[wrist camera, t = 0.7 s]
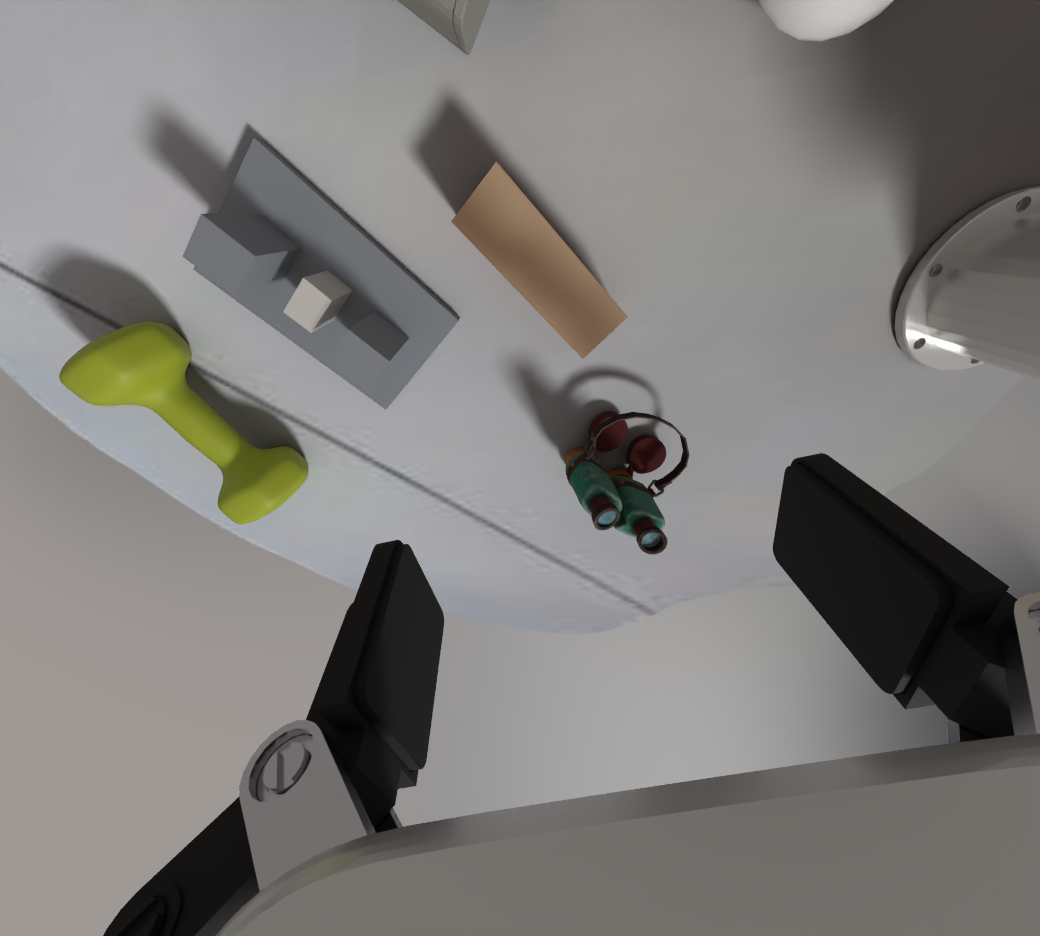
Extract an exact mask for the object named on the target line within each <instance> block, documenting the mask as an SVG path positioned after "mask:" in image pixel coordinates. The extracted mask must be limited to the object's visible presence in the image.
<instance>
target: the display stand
mask: <svg viewBox="0 0 1040 936" xmlns="http://www.w3.org/2000/svg"><path fill="white" fill-rule="evenodd" d="M183 257H184V258H185V259H187V260H188V261H189V262H191V263H192V264H194V265H195V267H194V270H195V271H196V272H198V273H199V274H201V275H202V276H203V277H205V278H206V279H207V280H209V281H210V282H212V283H213V284H214V285H216V286H217V287H218V288H220V289H221V290H223V291H224V292H225V293H227V294H228V295H229V296H231V297H232V298H234V299H235V300H236V301H238V302H239V303H240V304H242V305H243V306H244V307H246V308H247V309H249V310H250V311H251V312H253V313H254V314H255V315H257V316H258V317H260V318H261V319H262V320H264V321H265V322H266V323H268V324H269V325H271V326H272V327H273V328H275V329H276V330H277V331H279V332H280V333H282V334H283V335H284V336H286V337H287V338H288V339H290V340H291V341H293V342H294V343H295V344H297V345H298V346H299V347H301V348H302V349H303V350H305V351H306V352H308V353H309V354H310V355H312V356H313V357H314V358H316V359H317V360H319V361H320V362H321V363H323V364H324V365H325V366H327V367H328V368H330V369H331V370H332V371H334V372H335V373H336V374H338V375H339V376H341V377H342V378H343V379H345V380H346V381H347V382H349V383H350V384H352V385H353V386H354V387H356V388H357V389H358V390H360V391H361V392H363V393H364V394H365V395H367V396H368V397H369V398H371V399H372V400H373V401H375V402H376V403H378V404H379V405H380V406H382V407H383V408H384V409H387V408H388V407H389V405H390V404H391V403H392V402H393V401H394V399H395V398H396V397H397V396H398V394H399V393H400V392H401V391H402V389H403V388H404V387H405V386H406V385H407V383H408V382H409V381H410V380H411V378H412V377H413V376H414V375H415V373H416V372H417V371H418V370H419V369H420V367H421V366H422V365H423V364H424V362H425V361H426V360H427V359H428V357H429V356H430V355H431V354H432V353H433V351H434V350H435V349H436V348H437V346H438V345H439V344H440V343H441V341H442V340H443V339H444V338H445V337H446V335H447V334H448V333H449V332H450V330H451V329H452V328H453V327H454V325H455V324H456V323H457V322H458V321H459V319H460V317H459V316H457V315H456V314H455V313H454V312H453V311H452V310H451V309H450V308H449V307H447V306H446V305H445V304H444V303H443V302H442V301H441V300H440V299H439V298H437V297H436V296H435V295H434V294H433V293H432V292H431V291H430V290H429V289H427V288H426V287H425V286H424V285H423V284H422V283H421V282H420V281H419V280H417V279H416V278H415V277H414V276H413V275H412V274H411V273H410V272H409V271H407V270H406V269H405V268H404V267H403V266H402V265H401V264H400V263H399V262H397V261H396V260H395V259H394V258H393V257H392V256H391V255H390V254H389V253H387V252H386V251H385V250H384V249H383V248H382V247H381V246H380V245H379V244H377V243H376V242H375V241H374V240H373V239H372V238H371V237H370V236H368V235H367V234H366V233H365V232H364V231H363V230H362V229H361V228H360V227H358V226H357V225H356V224H355V223H354V222H353V221H352V220H351V219H350V218H348V217H347V216H346V215H345V214H344V213H343V212H342V211H341V210H340V209H338V208H337V207H336V206H335V205H334V204H333V203H332V202H331V201H330V200H328V199H327V198H326V197H325V196H324V195H323V194H322V193H321V192H320V191H318V190H317V189H316V188H315V187H314V186H313V185H312V184H311V183H310V182H308V181H307V180H306V179H305V178H304V177H303V176H302V175H301V174H300V173H298V172H297V171H296V170H295V169H294V168H293V167H292V166H291V165H290V164H288V163H287V162H286V161H285V160H284V159H283V158H282V157H281V156H280V155H278V154H277V153H276V152H275V151H274V150H273V149H272V148H271V147H270V146H268V145H267V144H266V143H265V142H264V141H263V140H261V139H257V138H253V140H252V142H251V144H250V147H249V149H248V151H247V153H246V155H245V158H244V160H243V162H242V164H241V166H240V169H239V171H238V173H237V175H236V177H235V179H234V182H233V184H232V186H231V188H230V190H229V193H228V195H227V197H226V199H225V201H224V204H223V206H222V208H221V210H220V212H219V214H201V216H200V218H199V220H198V223H197V225H196V227H195V229H194V232H193V234H192V236H191V239H190V241H189V243H188V245H187V248H186V250H185V252H184V255H183Z"/></svg>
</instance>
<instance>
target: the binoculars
mask: <svg viewBox="0 0 1040 936" xmlns="http://www.w3.org/2000/svg"><path fill="white" fill-rule="evenodd" d="M636 417H637V418H646V419H652V420H656V421H659V422H662V423H664V424H666V425H668V426H670V427H672V428H674V429H675V430H676V431H677V432H678V434H679V435H680V438H681V443H682V448H683V453H682V458H681V461H680V463H679V464H678V465H677V466H676V467H675V469H674V470H673V471H671V472H670V473H669V474H667V475H666V476H665V477H664V478H662V479H659V480H653V481H652V482H651V484H650V485H649V486H648V489H647V488H646V487H645V486H644V485H643V484H641V483H640V482H637V481H635V480H633V478H632V477H633V472H634V471H635V472H637V473H640V474H644V473H649V472H652V471H654V470H656V469H657V468H658V467H660V466H661V465H662V463H663V462H664V460H665V457H666V449H665V446H664V445H663V443H662V442H660V441H659V440H658V439H657V438H656V437H654V436H651V435H643V436H639V437H637V438H636V439H635V440H633V442H632V443H631V444H630V446H629V449H628V453H627V459H628V463H629V466H628V467H627V469H624V468H620V469H615V470H613V471H611V472H609V473H608V472H607V470H606V469H605V468H604V466H603V465H602V464H601V463H600V462H598V461H597V460H596V457H595V453H594V451H595V449H596V450H597V451H599V452H608V451H611V450H613V449H615V448H617V447H618V446H619V445H620V444H622V442H623V441H624V440H625V438H626V436H627V432H628V426H627V423H626V422H625V419H630V418H636ZM688 459H689V451H688V446H687V441H686V438H685V437H684V436H683V435H682V434H681V433H680V432H679V431H678V430H677V429H676V428H675V427H674V426H673V425H672V424H671V423H669V422H667V421H665V420H663V419H661V418H659V417H656V416H653V415H650V414H646V413H637V412H630V413H625V414H620V415H617V414H616V413H614V412H604V413H601V414H600V415H598V416H597V417H596V418H595V419H594V420H593V421H592V423H591V425H590V428H589V442H587V443H586V445H585V447H584V448H578V449H575V450H572V451H571V452H569V453H568V454H567V456H566V458H565V464H566V475H567V479H568V481H569V483H570V485H571V486H572V487H573V489H574V491H575V493H576V495H577V497H578V500H579V502H580V504H581V505H582V507H583V508H584V509H585V510H586V511H587V512H588V513H589V514H590V515H591V516H592V520H593V523H594V526H595V528H596V529H598V530H607V529H609V528H611V527H613V526H614V527H615V529H617V530H619V531H621V532H622V533H625V534H627V535H630V536H633V537H636V539H637V542H638V545H639V547H640V549H641V550H642V551H643V552H645V553H648V554H658V553H660V552H662V551H663V550H664V549H665V548H666V546H667V538H666V536H665V535H664V533H663V532H662V531H661V530H662V529H663V527H664V525H665V520H664V517H663V515H662V514H661V512H660V510H659V508H658V506H657V505H656V503H655V501H654V500H653V497H657V496H659V495H661V494H662V493H663V492H664V488H665V487H666V486H667V485H669V484H670V483H672V481H673V480H674V479H675V478H677V477H678V476H679V475H680V474H681V472H682V471H683V470H684V469H685V468H686V467H687V463H688ZM654 482H655V483H654ZM653 484H654V485H655V486H656V487H657V489H658V490H659V491H661V492H659V493H657V494H655V492H654V491H653V489H651V486H652V485H653Z"/></svg>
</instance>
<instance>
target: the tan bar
mask: <svg viewBox="0 0 1040 936" xmlns="http://www.w3.org/2000/svg"><path fill="white" fill-rule="evenodd" d="M451 222H452V223H453V224H454V225H455V226H456V227H457V228H458V229H459V230H460V231H461V232H462V233H463V234H464V235H465V236H466V237H467V238H468V239H469V240H470V241H471V242H472V243H473V245H474V246H475V247H476V248H477V249H478V250H479V251H480V252H481V253H482V254H483V255H484V256H485V257H486V258H487V259H488V260H489V261H490V262H491V263H492V264H493V265H494V267H495V268H496V269H497V270H498V271H499V272H500V273H501V274H502V275H503V276H504V277H505V278H506V279H507V280H508V281H509V282H510V283H511V284H512V285H513V286H514V287H515V288H516V290H517V291H518V292H519V293H520V294H521V295H522V296H523V297H524V298H525V299H526V300H527V301H528V302H529V303H530V304H531V305H532V306H533V307H534V308H535V309H536V310H537V311H538V313H539V314H540V315H541V316H542V317H543V318H544V319H545V320H546V321H547V322H548V323H549V324H550V325H551V326H552V327H553V328H554V329H555V330H556V331H557V332H558V333H559V334H560V336H561V337H562V338H563V339H564V340H565V341H566V342H567V343H568V344H569V345H570V346H571V347H572V348H573V349H574V350H575V351H576V352H577V353H578V354H579V355H580V356H581V358H582V359H583V358H584V357H586V356H587V355H588V354H589V353H590V352H591V351H592V350H593V349H594V348H595V347H596V346H597V345H598V344H599V343H600V342H601V341H602V340H604V339H605V338H606V337H607V336H608V335H609V334H610V333H611V332H612V331H613V330H614V329H615V328H616V327H617V326H618V325H619V324H620V323H622V322H623V321H624V320H625V319H626V318H627V315H626V314H625V313H624V312H623V311H622V310H621V308H620V307H619V306H618V305H617V304H616V302H615V301H614V300H613V299H612V298H611V297H610V295H609V294H608V293H607V292H606V291H605V289H604V288H603V287H602V286H601V285H600V283H599V282H598V281H597V280H596V279H595V278H594V276H593V275H592V274H591V273H590V272H589V270H588V269H587V268H586V267H585V266H584V265H583V263H582V262H581V261H580V260H579V259H578V257H577V256H576V255H575V254H574V253H573V252H572V250H571V249H570V248H569V247H568V246H567V244H566V243H565V242H564V241H563V240H562V239H561V237H560V236H559V235H558V234H557V233H556V231H555V230H554V229H553V228H552V227H551V226H550V224H549V223H548V222H547V221H546V220H545V218H544V217H543V216H542V215H541V214H540V213H539V211H538V210H537V209H536V208H535V207H534V205H533V204H532V203H531V202H530V201H529V200H528V198H527V197H526V196H525V195H524V194H523V192H522V191H521V190H520V189H519V188H518V187H517V185H516V184H515V183H514V182H513V181H512V179H511V178H510V177H509V176H508V175H507V174H506V172H505V171H504V170H503V169H502V168H501V166H500V165H499V164H498V163H497V162H496V163H495V164H494V165H493V167H492V168H491V169H490V171H489V172H488V173H487V175H486V176H485V177H484V179H483V180H482V181H481V183H480V184H479V185H478V187H477V188H476V189H475V191H474V192H473V193H472V195H471V196H470V197H469V199H468V200H467V201H466V203H465V204H464V205H463V206H462V208H461V209H460V210H459V212H458V213H457V214H456V216H455V217H454V218H453V220H452V221H451Z"/></svg>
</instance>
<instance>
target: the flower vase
mask: <svg viewBox="0 0 1040 936" xmlns="http://www.w3.org/2000/svg"><path fill="white" fill-rule="evenodd" d="M758 1H759V4H760V7H761V9H762V11H763V12H764V14H765V15H766V16H767V17H768V19H769V20H770V21H771V22H772V23H773V25H774V26H775V27H776V28H777V30H779V31H781V32H783V33H785V34H787V35H788V36H790V37H792V38H794V39H796V40H807V41H819V42H821V41H824V40H828V39H832V38H836V37H839V36H843V35H846V34H848V33H850V32H852V31H853V30H855V29H857V28H859V27H860V26H862V25H864V24H865V23H867V22H869V21H870V20H872V19H874V18H875V17H876V16H878V15H879V14H880V13H881V12H882V11H883V10H884V9H885V8H887V7H888V6H889V5H890V4H891V3H892V2H893V1H894V0H758Z"/></svg>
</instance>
